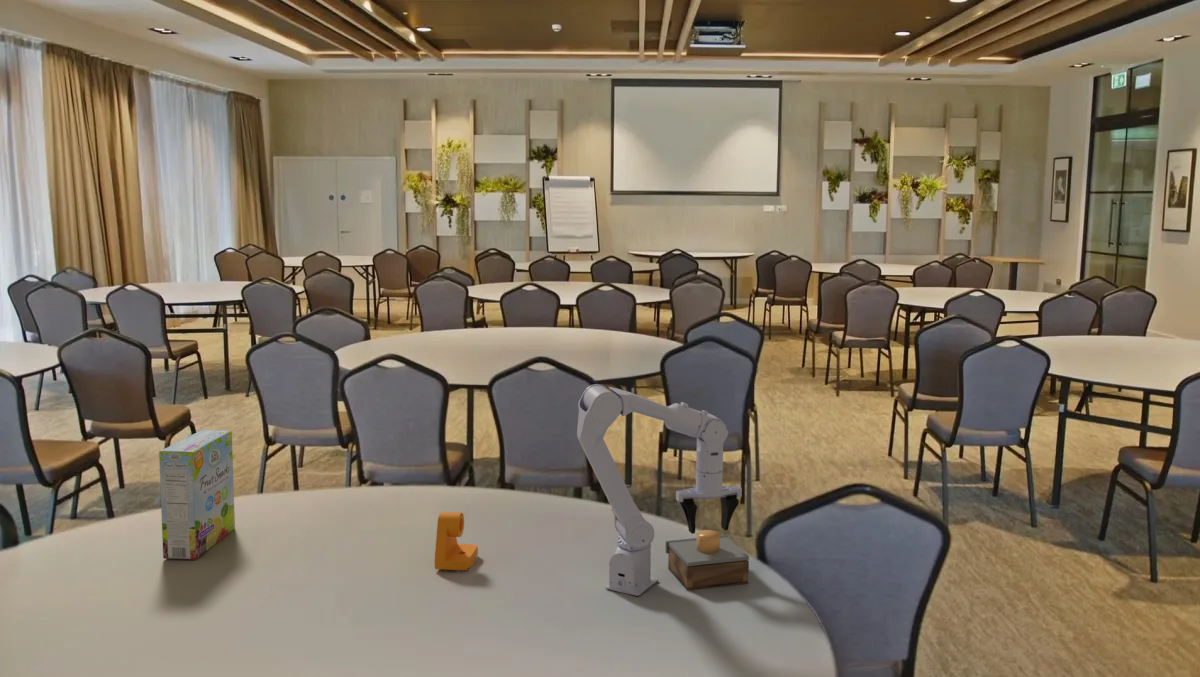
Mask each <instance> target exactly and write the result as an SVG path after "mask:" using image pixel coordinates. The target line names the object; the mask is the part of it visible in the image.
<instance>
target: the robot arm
mask: <svg viewBox="0 0 1200 677" xmlns="http://www.w3.org/2000/svg"><path fill="white" fill-rule="evenodd" d="M608 388H609V389H610V390H609V389H608ZM608 388H607V387H606V386H605V385H603V384H599V383H596V384H595V383H594V384H591V385H589V386H587V387H586V388H585V389H584V391H583V392H582V393H581V394H582V395H581V397H580V399H579V400H578V405H577V407H578V415H577V416H578V419H577V428H576V437H577V440H578V442H579V443H580V446H581V447H582V450H583V452H584V454H585V456H586V459H587V460H588V463H589V465H590V466H591V468H592V470H593V472H594V474H595V477H596V479H597V481H598V483H599V484H600V487H601V488H602V491H603V494H604V495H605V497H606V498H607V500H608V503H609V504H610V507H611V512H612V515H613V517H614V528H615V530H616V531H617V532H618V533H619V534H618V537H617V541H616V549H615V552H614V554H613V555H611V558H610V560H609V562H608V563H609V564H608V566H609V571H608V572H609V573H608V574H609V577H608V580H609V582H608V584H607V585H605V589H606V590H611V591H616V592H619V593H623V594H628V595H632V596H637V597H638V596H640V595H642V594H643V593H644V592H645V591H647V590H648V589H650V587H652V586H653V585H654V584H655V583H657V582H658V581H659V579H658V577H653V576H651V562H652V561H651V560H652V558H651V557H652V556H651V553H652V552H651V544H652V542H653V541H654V539H655V538H654V537H655V529H654V526H653V524H651V523H650V522H649V521H647V519H645V518H644V516H643V515H642V512H641V511H640V509H639V508H638V506H637V504H636V503H635V502H634V499H633V497H632V495H631V493H630V491H629V488H628V487H627V485H626V483H625V480H624V478H623V476H622V474H621V473H620V471H619V468H618V466H617V464H616V462H615V460H614V458H613V456H612V454H611V452H610V450H609V448H608V447H609V446H607V444H606V441H605V440H604V437H605V435H606V433H607V431H608V429H609V428H610V427H611V426H612V424H614V422H615V421H616V420H617V419H618V418H619V416H620V415H621V416H622V417H626V416H627V415H628V414H630V413H636V414H638V415H639V414H640V415H643V416H646V417H650V418H652V419H656V420H660V421H662V422H664V426H665V428H667V430H671V431H673V432H677V433H680V434H682V435H686V436H688V437H691V438H696V450H695V451H696V454H695V455H696V459H695V460H696V462H695V463H696V464H695V466H696V467H695V487H690V488H686V489H681V490H680V489H679V490H676V491H675V500H676V501H677V502H678V503H679V504H680V506H681V508H682V511H683V513H684V516H685V519H686V523H687V528H688V531H689V533H691V534H692V535H693V534H695V533H696V515H697V509H698V505H697V504H695V501H696V500H708V499H720V508H721V519H720V520H721V522H720V526H721V528H722V529H723V530H724V531H728V530H729V527H730V526H729V525H730V523H731V520H732V517H733V514H734V512H735V511H736V508H737V507H738V506H739V503H740V500H739V498H742V496H743V495H742V494H743V493H742V492H743V488H742V487H740V486H739V485H723V482H724V481H723V475H724V474H723V473H724V471H723V470H724V468H723V467H724V443H725V441H726V440H727V438H728V436H729V430H728V429H727V425H726V423H725V422H724V420H722V419H721V418H719V417H717V416H715V415H713V414H712V413H709V412H708V411H707V410H703V409H702V410H701V411H700V410H697V409H694V408H692V407H689V404H688V403H686V402H683V401H681V402H680V403H677V402H675V403H672V404H671V405H666V404H662V403H659V402H656V401H654V400H651V399H648V398H646V397H644V396H641V395H638V394H635V393H633V392H631V391H627V390H624V389H621V388H616V387H613V386H608Z"/></svg>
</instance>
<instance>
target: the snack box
mask: <svg viewBox="0 0 1200 677" xmlns="http://www.w3.org/2000/svg"><path fill="white" fill-rule="evenodd" d="M232 433H233V432H232V431H231V430H225V429H224V430H222V429H219V430H218V429H217V430H211V429H209V430H208V429H206V430H205V429H201V430H200V431H197V432H196V433H193V434H191V435H189V436H187V437H185V438H183V439H181V440H180V441H177V442H175V443H174V444H170V445H169V446H167V447H166V448H163V449H161V450H159V453H158V456H159V458H158V460H159V482H160V483H159V484H160V485H159V486H160V504H161V505H160V506H161V507H160V508H161V510H160V511H161V513H160V514H161V537H162V558H163V560H164V559H167V560H170V559H171V560H193V561H194V560H197V559H198V558H200V557H201V556H202V555H203V554H205V553H206V552H207V551H208V550H210V549H211V548H212V547H213V546H215V545H216V544H217V543H219V542H220V541H221V540H222V539H224V538H225V537H226V536H228V535H229V534H230V533H232V532H233V531H234V530H235V529H236V523H235V522H236V521H235V520H236V519H235V518H236V517H235V515H236V514H235V496H234V494H235V493H234V492H235V488H234V463H233V462H234V459H233V437H232V436H233V434H232Z"/></svg>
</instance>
